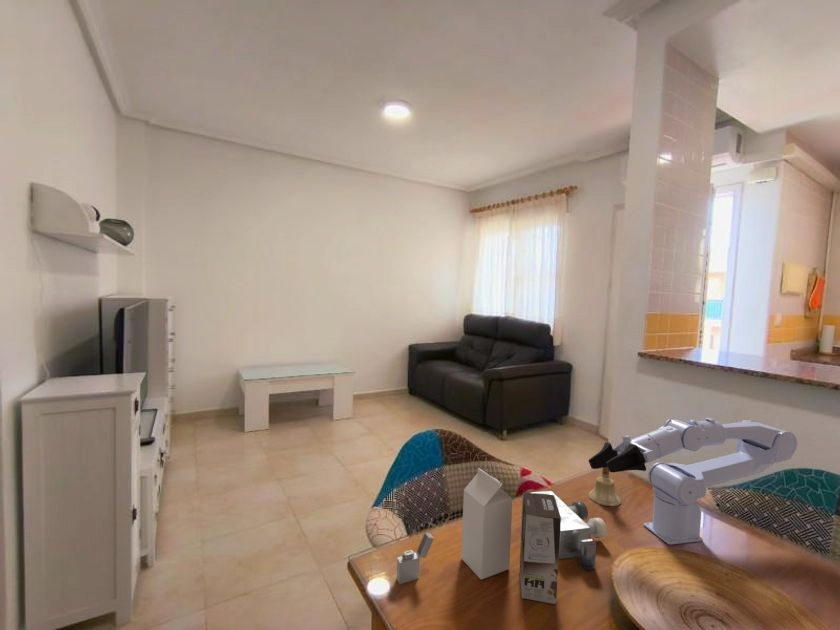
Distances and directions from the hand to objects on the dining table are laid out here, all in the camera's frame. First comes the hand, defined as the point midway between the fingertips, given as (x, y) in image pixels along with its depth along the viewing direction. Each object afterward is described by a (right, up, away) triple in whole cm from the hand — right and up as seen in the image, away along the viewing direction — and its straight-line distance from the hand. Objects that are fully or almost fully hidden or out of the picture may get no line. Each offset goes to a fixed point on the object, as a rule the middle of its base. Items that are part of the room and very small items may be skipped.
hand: (599, 466), depth 90 cm
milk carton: (-27, -18, -8) cm, 33 cm away
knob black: (-4, -16, +8) cm, 18 cm away
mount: (-9, -17, +3) cm, 20 cm away
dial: (-6, -18, -7) cm, 20 cm away
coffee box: (-18, -18, -13) cm, 29 cm away
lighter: (-42, -17, -12) cm, 47 cm away
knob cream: (-3, -17, +1) cm, 17 cm away
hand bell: (+11, -17, +21) cm, 29 cm away
